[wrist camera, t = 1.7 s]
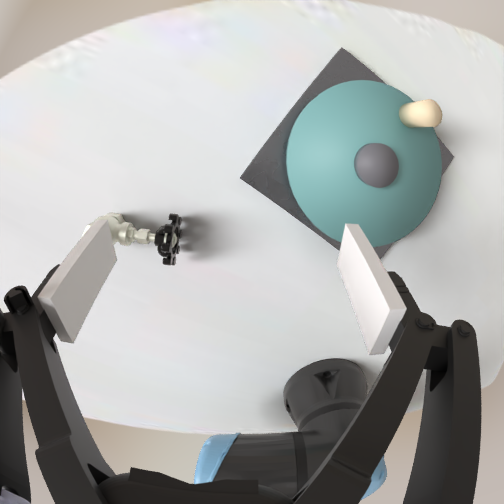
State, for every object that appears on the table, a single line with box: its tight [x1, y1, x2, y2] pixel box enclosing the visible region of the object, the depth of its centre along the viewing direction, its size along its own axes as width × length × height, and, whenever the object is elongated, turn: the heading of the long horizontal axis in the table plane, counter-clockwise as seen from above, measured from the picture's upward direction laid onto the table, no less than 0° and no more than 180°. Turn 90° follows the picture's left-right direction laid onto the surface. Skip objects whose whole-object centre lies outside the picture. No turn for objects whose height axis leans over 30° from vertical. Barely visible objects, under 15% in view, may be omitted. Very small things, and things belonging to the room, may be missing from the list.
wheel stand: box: [240, 48, 454, 259], centre depth 34 cm, size 22×22×3 cm
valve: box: [83, 213, 182, 265], centre depth 36 cm, size 7×7×12 cm
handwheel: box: [286, 80, 442, 247], centre depth 29 cm, size 20×20×7 cm
